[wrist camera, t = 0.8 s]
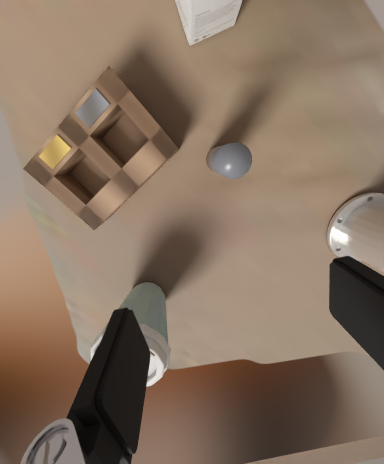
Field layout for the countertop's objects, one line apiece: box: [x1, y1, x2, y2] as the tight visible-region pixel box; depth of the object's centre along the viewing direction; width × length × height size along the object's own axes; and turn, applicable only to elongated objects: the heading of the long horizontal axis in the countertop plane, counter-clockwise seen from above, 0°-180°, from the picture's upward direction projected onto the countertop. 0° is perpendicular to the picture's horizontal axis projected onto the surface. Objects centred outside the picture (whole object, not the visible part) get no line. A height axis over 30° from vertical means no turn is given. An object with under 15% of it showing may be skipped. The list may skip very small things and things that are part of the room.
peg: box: [206, 142, 252, 179], centre depth 26 cm, size 4×4×11 cm
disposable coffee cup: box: [91, 282, 171, 387], centre depth 33 cm, size 11×11×15 cm
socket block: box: [23, 66, 179, 230], centre depth 28 cm, size 16×11×6 cm
